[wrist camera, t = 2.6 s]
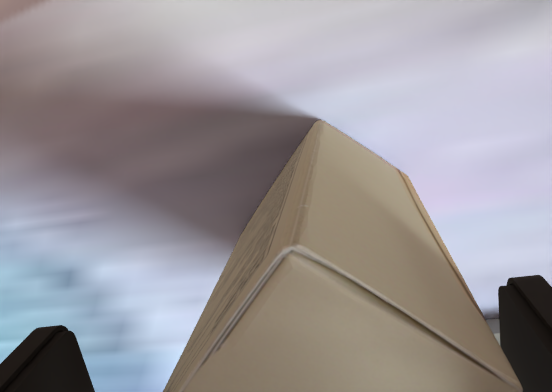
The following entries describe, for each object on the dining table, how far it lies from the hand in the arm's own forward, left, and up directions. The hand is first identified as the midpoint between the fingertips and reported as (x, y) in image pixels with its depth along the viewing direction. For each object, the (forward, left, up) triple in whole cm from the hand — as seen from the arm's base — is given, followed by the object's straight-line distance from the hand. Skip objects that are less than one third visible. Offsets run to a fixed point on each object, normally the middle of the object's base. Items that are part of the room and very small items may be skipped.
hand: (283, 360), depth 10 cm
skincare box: (-1, 0, -10) cm, 10 cm away
